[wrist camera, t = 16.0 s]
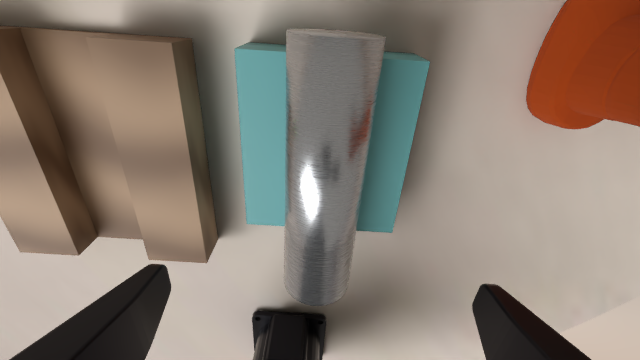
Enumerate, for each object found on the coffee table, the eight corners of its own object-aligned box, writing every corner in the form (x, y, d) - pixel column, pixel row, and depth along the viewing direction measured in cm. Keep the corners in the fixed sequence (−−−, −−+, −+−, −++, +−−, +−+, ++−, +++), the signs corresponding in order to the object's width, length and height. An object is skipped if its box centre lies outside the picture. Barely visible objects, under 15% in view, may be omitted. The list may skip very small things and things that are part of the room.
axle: (347, 258, 21) (349, 308, 18) (288, 254, 21) (279, 302, 18) (379, 33, 14) (393, 41, 11) (292, 26, 14) (278, 33, 11)
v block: (384, 205, 22) (392, 232, 19) (256, 197, 22) (246, 223, 19) (414, 53, 17) (430, 61, 14) (249, 42, 17) (234, 48, 14)
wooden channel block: (218, 239, 23) (206, 263, 21) (48, 229, 23) (20, 252, 21) (191, 38, 17) (171, 42, 14) (-48, 22, 16) (-105, 24, 14)
